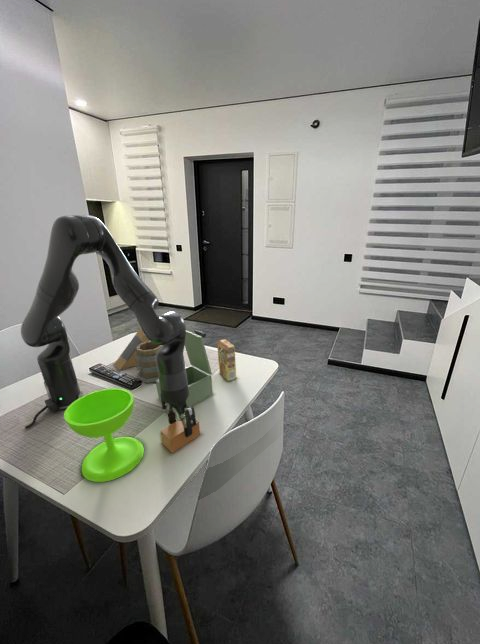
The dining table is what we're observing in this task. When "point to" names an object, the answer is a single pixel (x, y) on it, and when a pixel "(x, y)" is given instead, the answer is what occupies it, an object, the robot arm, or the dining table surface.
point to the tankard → (147, 361)
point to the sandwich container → (131, 352)
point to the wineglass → (105, 433)
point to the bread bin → (195, 385)
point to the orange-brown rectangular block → (177, 435)
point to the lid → (197, 350)
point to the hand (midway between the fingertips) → (180, 429)
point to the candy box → (226, 359)
